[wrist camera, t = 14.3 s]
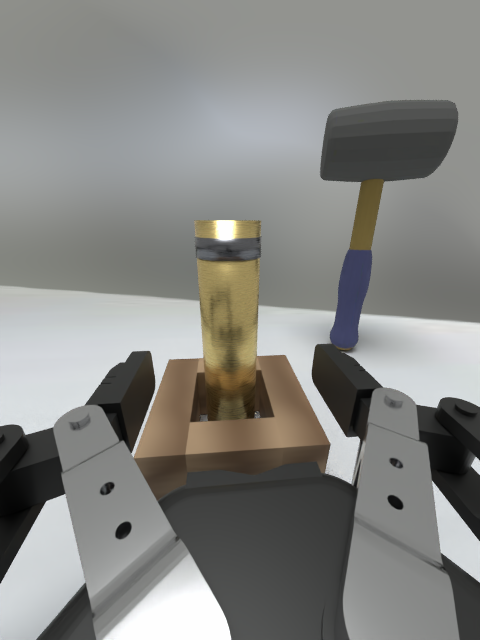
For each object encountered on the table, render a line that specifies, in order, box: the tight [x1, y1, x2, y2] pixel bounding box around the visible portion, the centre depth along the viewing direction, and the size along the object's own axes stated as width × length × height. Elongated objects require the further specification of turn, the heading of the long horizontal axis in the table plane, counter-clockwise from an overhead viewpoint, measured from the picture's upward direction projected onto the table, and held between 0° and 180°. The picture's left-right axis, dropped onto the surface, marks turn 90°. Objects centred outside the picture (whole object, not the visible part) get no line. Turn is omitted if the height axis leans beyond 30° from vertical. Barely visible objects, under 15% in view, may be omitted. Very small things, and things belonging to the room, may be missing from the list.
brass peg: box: [195, 220, 261, 421], centre depth 18 cm, size 4×4×18 cm
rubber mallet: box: [320, 100, 458, 350], centre depth 32 cm, size 12×8×30 cm, turn 79°
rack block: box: [134, 355, 330, 501], centre depth 21 cm, size 12×11×5 cm
